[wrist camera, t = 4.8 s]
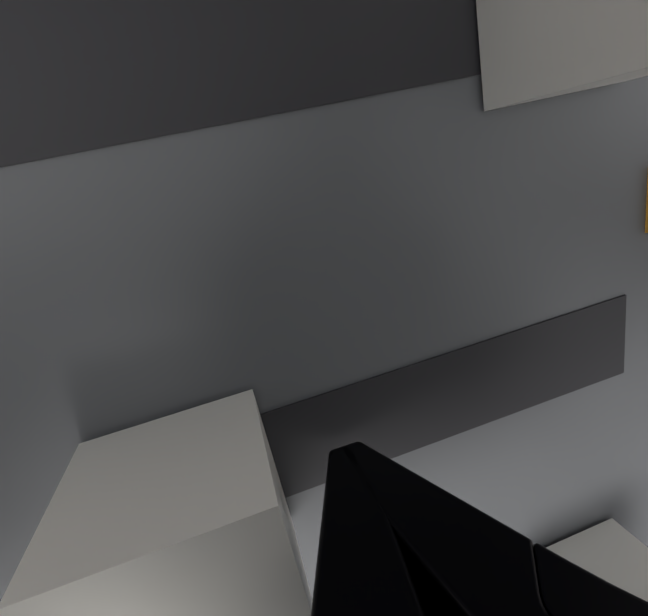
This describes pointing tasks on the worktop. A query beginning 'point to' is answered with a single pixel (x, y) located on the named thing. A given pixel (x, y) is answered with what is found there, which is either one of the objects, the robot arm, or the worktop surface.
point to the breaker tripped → (167, 525)
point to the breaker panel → (320, 254)
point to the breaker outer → (558, 47)
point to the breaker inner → (609, 556)
